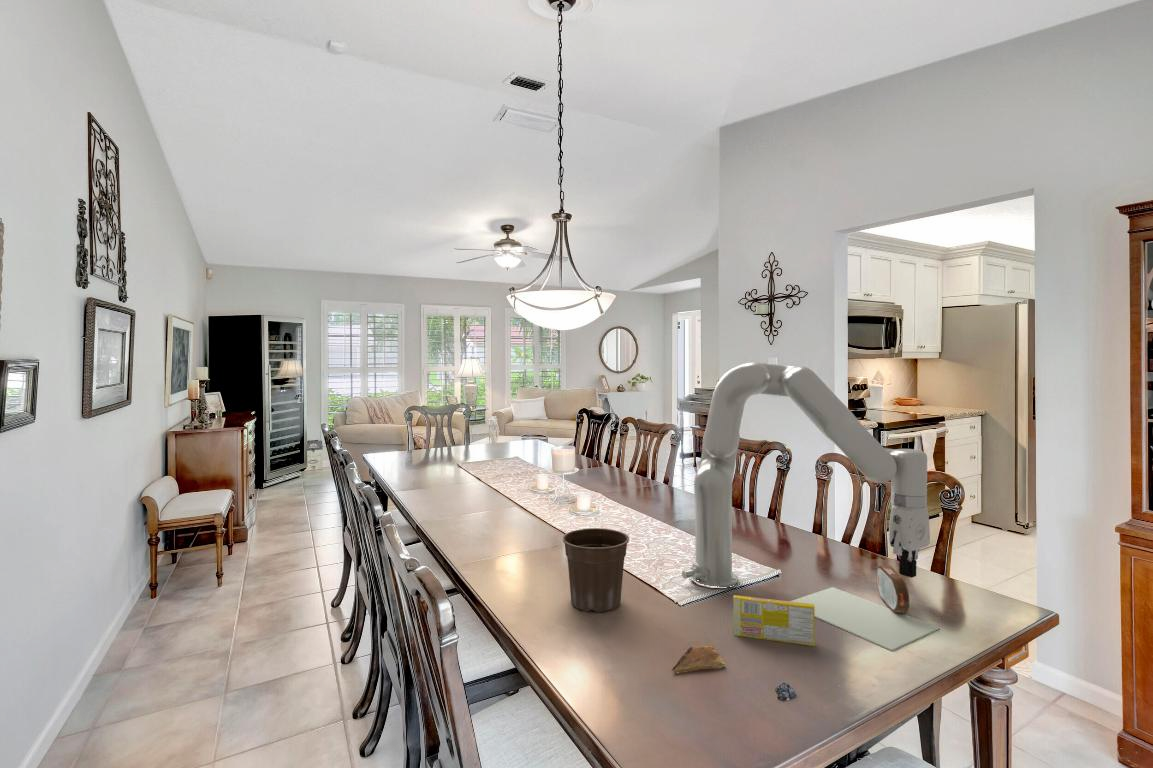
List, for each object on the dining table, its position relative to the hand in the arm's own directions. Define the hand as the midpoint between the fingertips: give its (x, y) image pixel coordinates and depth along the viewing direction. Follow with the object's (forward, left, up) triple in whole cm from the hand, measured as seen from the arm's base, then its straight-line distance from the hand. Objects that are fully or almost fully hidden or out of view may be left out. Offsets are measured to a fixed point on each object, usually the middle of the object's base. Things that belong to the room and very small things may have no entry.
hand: (907, 575), depth 137 cm
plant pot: (-65, +39, -6) cm, 76 cm away
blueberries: (-57, -10, -7) cm, 58 cm away
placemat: (-18, +1, -6) cm, 19 cm away
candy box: (-43, +4, -6) cm, 44 cm away
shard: (-63, +4, -7) cm, 63 cm away
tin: (-7, 0, -6) cm, 9 cm away
